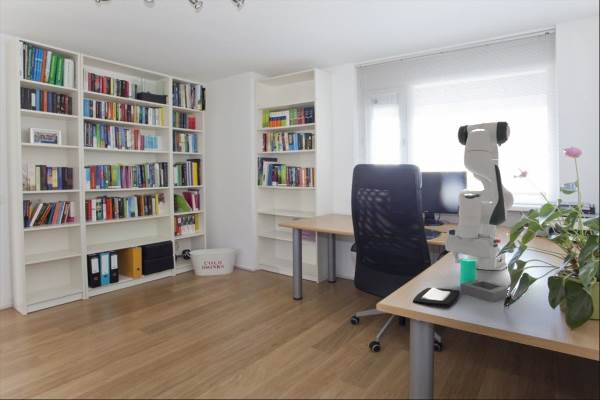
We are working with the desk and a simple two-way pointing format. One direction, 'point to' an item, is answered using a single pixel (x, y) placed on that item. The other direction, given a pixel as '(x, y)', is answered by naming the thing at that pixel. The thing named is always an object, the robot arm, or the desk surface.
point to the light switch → (437, 297)
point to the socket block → (484, 290)
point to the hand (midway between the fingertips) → (467, 265)
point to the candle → (467, 270)
